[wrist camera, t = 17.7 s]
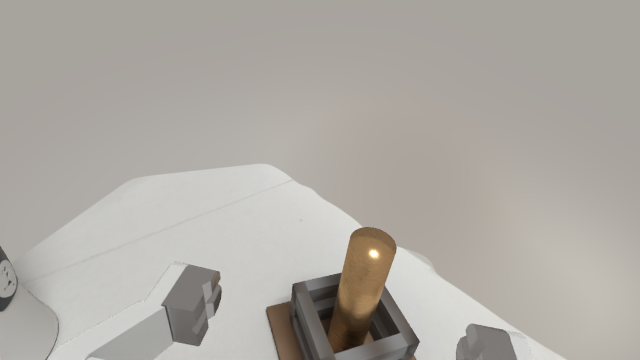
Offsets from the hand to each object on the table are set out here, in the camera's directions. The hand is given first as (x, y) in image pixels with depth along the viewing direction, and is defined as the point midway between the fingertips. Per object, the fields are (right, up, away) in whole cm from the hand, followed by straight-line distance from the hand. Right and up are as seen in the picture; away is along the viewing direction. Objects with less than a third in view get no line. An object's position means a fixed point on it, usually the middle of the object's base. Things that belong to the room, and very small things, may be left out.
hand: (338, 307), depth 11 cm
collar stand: (+2, -17, +32) cm, 37 cm away
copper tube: (+2, -17, +31) cm, 36 cm away
